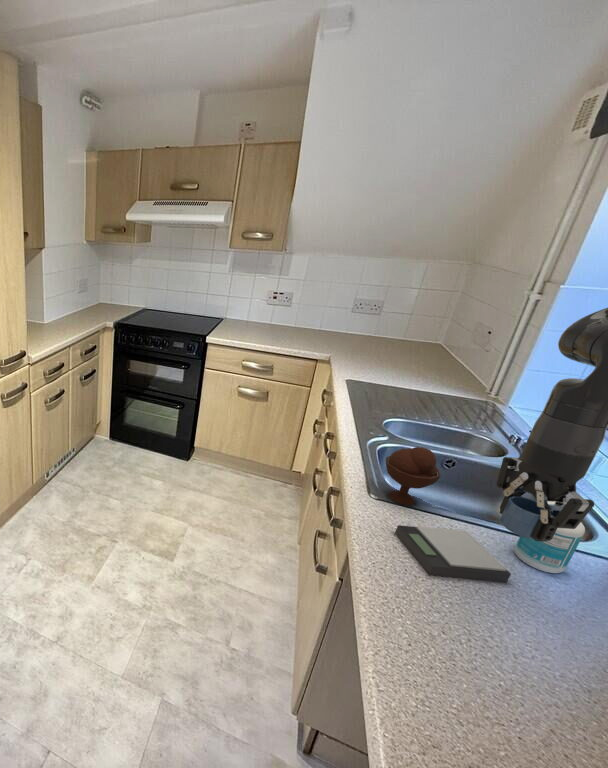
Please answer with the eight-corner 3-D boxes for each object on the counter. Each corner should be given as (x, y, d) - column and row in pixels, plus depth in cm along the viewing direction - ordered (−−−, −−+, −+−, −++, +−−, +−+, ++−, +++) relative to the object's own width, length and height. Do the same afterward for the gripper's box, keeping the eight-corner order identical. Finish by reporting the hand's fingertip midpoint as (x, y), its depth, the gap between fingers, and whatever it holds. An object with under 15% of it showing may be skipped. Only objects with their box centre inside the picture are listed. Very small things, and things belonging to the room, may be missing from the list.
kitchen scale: (462, 539, 91) (466, 529, 90) (507, 582, 79) (512, 571, 78) (394, 533, 92) (398, 523, 91) (429, 575, 81) (433, 564, 80)
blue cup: (524, 520, 75) (535, 497, 74) (554, 542, 70) (566, 518, 68) (490, 517, 76) (500, 495, 74) (517, 539, 70) (529, 515, 69)
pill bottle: (534, 547, 89) (561, 494, 84) (574, 574, 82) (605, 518, 77) (502, 548, 88) (527, 495, 83) (540, 576, 81) (569, 520, 76)
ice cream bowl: (424, 493, 106) (442, 442, 101) (430, 518, 97) (451, 463, 92) (375, 481, 111) (391, 431, 106) (377, 503, 102) (394, 450, 97)
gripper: (637, 468, 60) (586, 559, 66) (545, 424, 73) (510, 503, 79) (581, 465, 60) (535, 555, 66) (500, 422, 74) (468, 500, 80)
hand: (522, 526), depth 73 cm, fingers closed on blue cup, 6 cm apart
